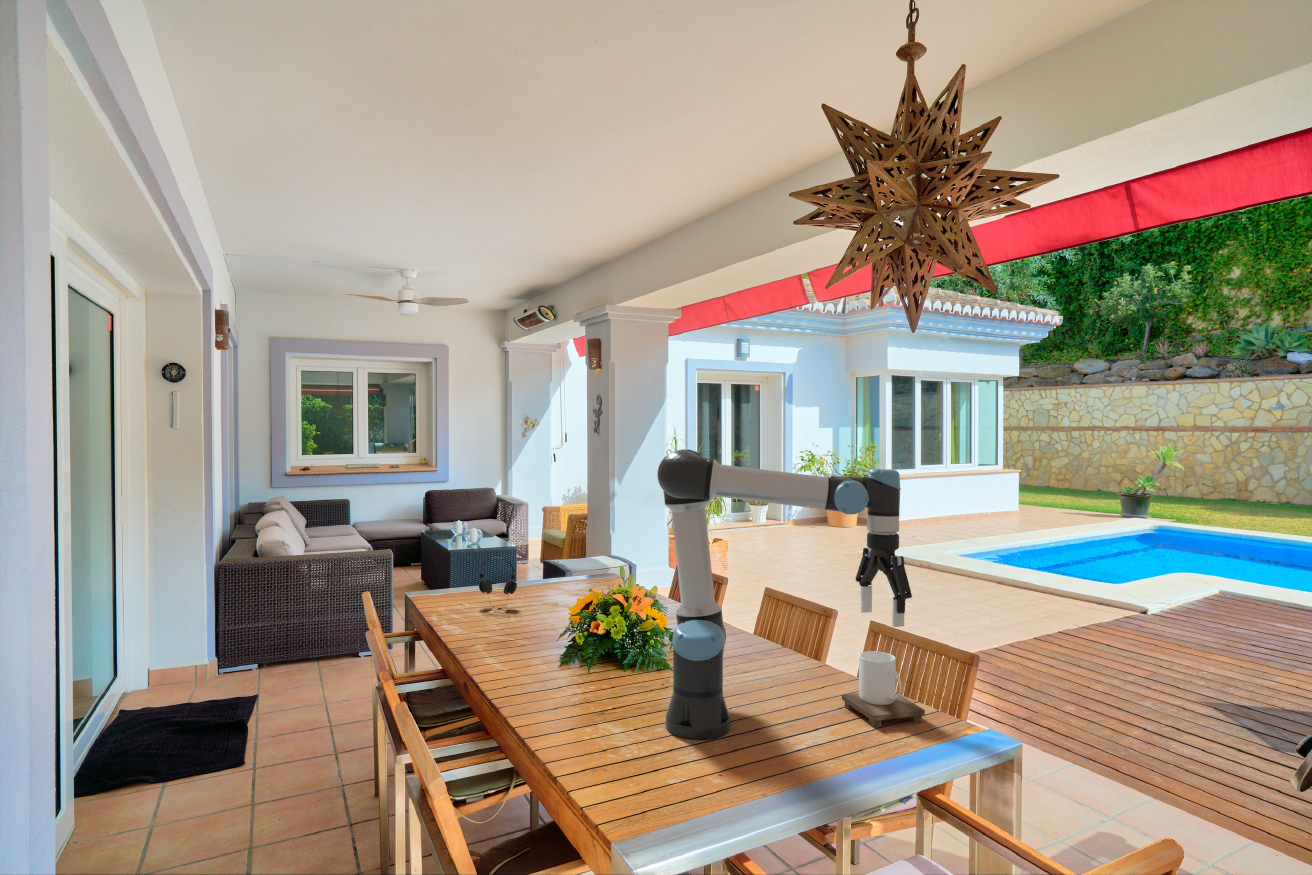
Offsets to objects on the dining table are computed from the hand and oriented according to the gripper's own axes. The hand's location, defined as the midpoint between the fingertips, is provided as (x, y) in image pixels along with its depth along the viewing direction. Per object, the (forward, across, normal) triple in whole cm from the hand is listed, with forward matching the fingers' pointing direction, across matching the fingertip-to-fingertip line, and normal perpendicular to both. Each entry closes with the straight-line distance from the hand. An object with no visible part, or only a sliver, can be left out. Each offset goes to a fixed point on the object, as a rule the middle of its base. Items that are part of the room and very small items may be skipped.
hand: (881, 619), depth 175 cm
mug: (+21, 0, 0) cm, 21 cm away
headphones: (+25, +130, +86) cm, 157 cm away
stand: (+23, 0, 0) cm, 23 cm away
